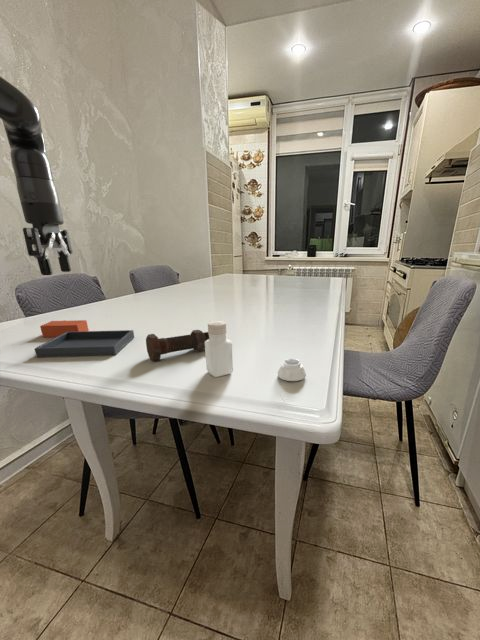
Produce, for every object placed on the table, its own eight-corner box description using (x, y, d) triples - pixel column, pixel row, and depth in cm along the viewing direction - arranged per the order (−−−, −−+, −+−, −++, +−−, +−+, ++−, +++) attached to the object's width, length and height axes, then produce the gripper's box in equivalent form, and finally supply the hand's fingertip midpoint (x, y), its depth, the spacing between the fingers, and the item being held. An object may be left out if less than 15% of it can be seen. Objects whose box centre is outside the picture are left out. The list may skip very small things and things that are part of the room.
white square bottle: (234, 373, 53) (232, 324, 50) (214, 379, 51) (210, 327, 48) (224, 366, 57) (222, 319, 53) (205, 371, 55) (201, 322, 51)
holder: (36, 357, 61) (34, 348, 61) (68, 339, 73) (66, 331, 72) (115, 355, 62) (114, 346, 62) (134, 337, 74) (133, 330, 73)
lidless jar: (273, 380, 51) (301, 385, 49) (273, 364, 50) (302, 369, 48) (282, 369, 55) (308, 373, 53) (283, 355, 54) (309, 358, 52)
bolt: (218, 353, 68) (152, 366, 60) (209, 338, 70) (145, 349, 62) (223, 336, 64) (153, 347, 56) (214, 321, 66) (146, 329, 58)
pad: (43, 337, 74) (39, 325, 73) (54, 331, 79) (51, 320, 78) (79, 336, 75) (76, 325, 74) (88, 330, 80) (86, 320, 79)
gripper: (42, 205, 74) (57, 270, 80) (0, 197, 61) (22, 276, 67) (73, 205, 75) (86, 270, 81) (38, 198, 62) (56, 276, 67)
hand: (57, 273), depth 74 cm, fingers open, 8 cm apart
